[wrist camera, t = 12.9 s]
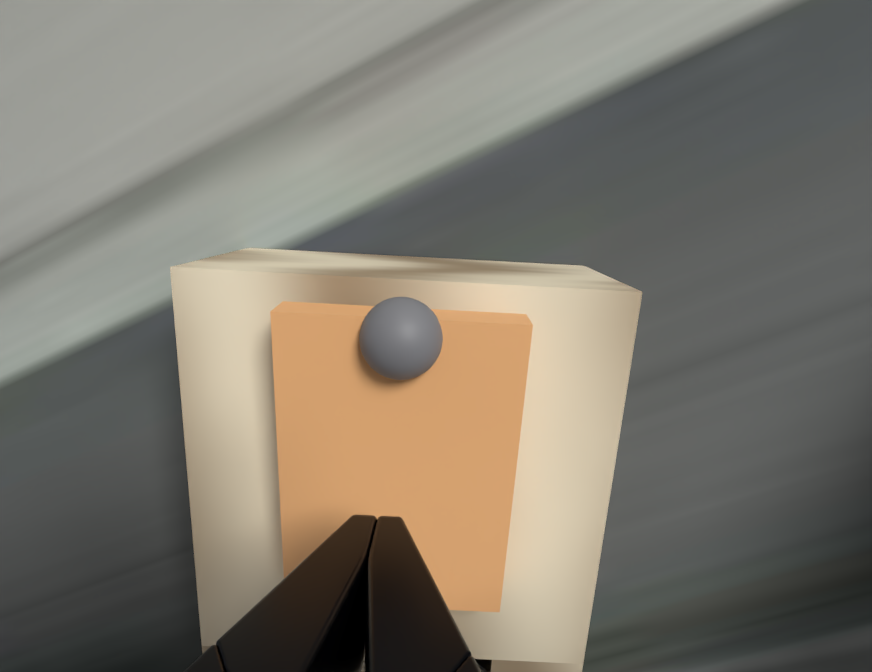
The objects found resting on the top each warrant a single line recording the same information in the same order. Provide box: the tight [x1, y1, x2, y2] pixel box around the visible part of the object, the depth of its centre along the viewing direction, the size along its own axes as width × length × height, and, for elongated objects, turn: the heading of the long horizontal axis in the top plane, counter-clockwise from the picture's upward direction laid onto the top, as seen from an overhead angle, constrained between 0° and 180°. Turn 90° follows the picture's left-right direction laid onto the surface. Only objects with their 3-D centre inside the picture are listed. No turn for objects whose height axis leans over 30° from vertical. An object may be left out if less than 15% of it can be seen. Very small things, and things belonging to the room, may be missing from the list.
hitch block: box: [170, 248, 642, 672], centre depth 15 cm, size 10×16×4 cm, turn 177°
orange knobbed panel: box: [270, 297, 533, 612], centre depth 11 cm, size 7×5×2 cm
